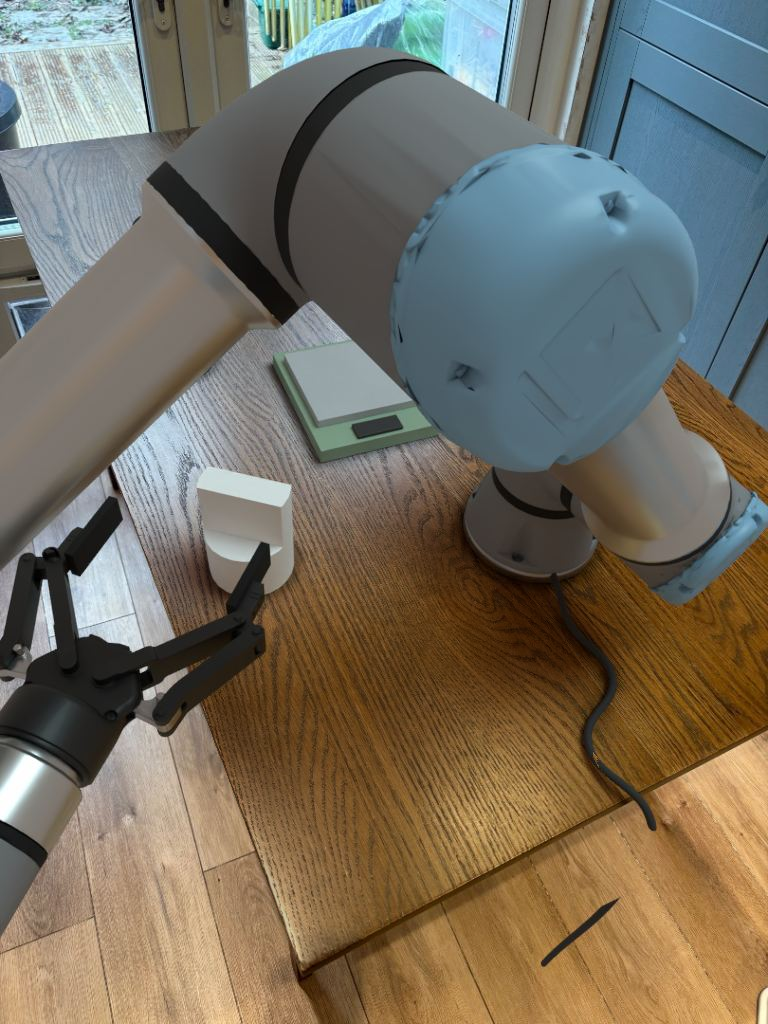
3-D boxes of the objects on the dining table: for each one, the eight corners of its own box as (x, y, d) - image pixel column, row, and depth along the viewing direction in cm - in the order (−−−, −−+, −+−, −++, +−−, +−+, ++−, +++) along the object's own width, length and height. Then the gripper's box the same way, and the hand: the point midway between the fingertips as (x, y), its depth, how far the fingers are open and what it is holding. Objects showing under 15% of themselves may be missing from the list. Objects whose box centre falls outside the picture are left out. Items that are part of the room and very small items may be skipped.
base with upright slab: (196, 585, 78) (180, 509, 69) (228, 523, 84) (217, 445, 75) (278, 605, 77) (273, 531, 68) (305, 541, 83) (303, 464, 74)
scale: (438, 435, 96) (442, 416, 94) (321, 463, 91) (321, 444, 89) (380, 345, 108) (381, 326, 106) (273, 365, 103) (272, 346, 101)
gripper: (-107, 729, 53) (67, 518, 67) (218, 849, 49) (330, 599, 63) (-156, 676, 47) (45, 458, 61) (206, 807, 44) (332, 543, 57)
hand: (190, 529), depth 62 cm, fingers open, 13 cm apart
